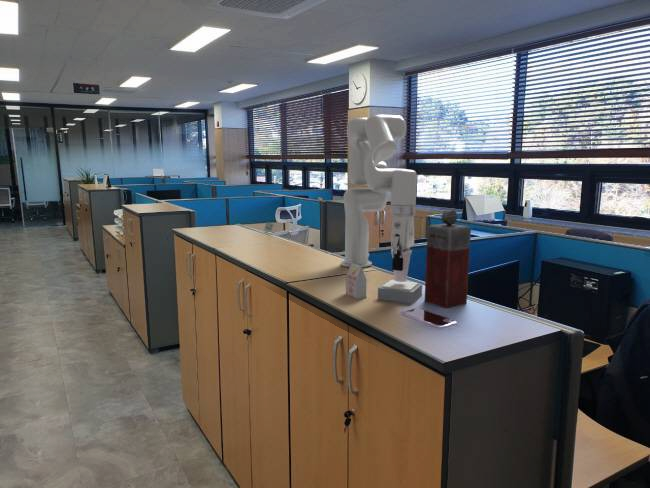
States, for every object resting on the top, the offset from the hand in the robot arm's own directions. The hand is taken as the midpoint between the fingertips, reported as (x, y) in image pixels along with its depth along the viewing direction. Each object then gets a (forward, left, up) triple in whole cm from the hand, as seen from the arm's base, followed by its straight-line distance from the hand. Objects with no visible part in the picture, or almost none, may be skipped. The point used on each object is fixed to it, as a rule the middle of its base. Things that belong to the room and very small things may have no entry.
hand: (400, 267), depth 147 cm
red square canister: (-1, +13, -10) cm, 16 cm away
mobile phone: (+17, +13, -10) cm, 24 cm away
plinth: (0, 0, -9) cm, 9 cm away
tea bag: (+5, -13, -10) cm, 17 cm away
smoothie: (0, 0, -4) cm, 4 cm away
